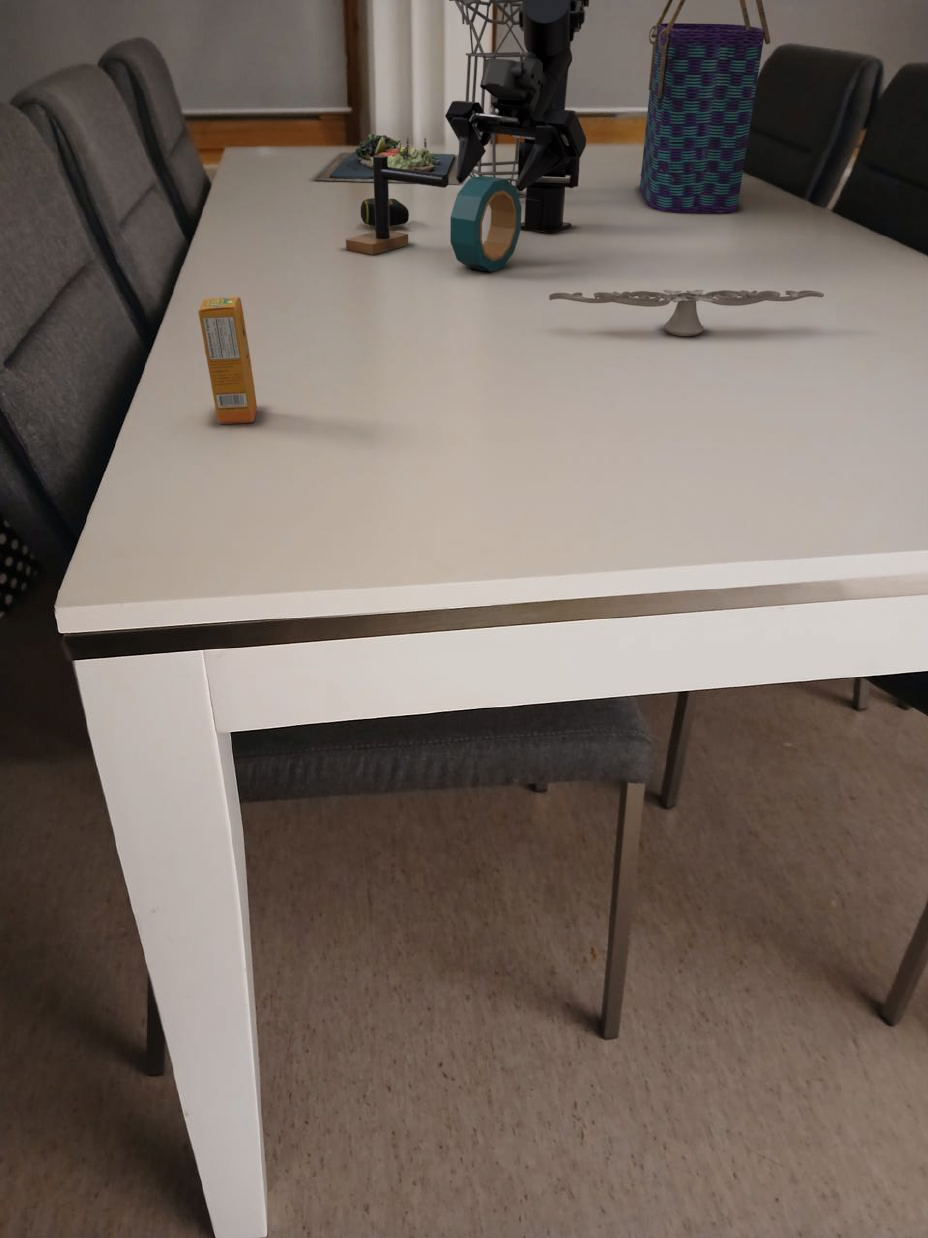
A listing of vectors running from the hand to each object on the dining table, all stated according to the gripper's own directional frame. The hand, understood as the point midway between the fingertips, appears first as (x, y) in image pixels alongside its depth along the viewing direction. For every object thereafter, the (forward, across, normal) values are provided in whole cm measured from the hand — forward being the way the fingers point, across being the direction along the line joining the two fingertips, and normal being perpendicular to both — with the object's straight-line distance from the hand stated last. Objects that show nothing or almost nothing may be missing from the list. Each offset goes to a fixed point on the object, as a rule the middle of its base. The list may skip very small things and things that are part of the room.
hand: (488, 184), depth 124 cm
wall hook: (+15, +33, 0) cm, 36 cm away
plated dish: (-33, -60, +47) cm, 83 cm away
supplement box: (+48, +12, -33) cm, 59 cm away
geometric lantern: (-23, -24, +37) cm, 50 cm away
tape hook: (+7, -13, +7) cm, 16 cm away
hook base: (+7, -19, +7) cm, 21 cm away
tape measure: (-1, -27, +16) cm, 31 cm away
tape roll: (+7, 0, +7) cm, 10 cm away
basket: (-37, 0, +52) cm, 64 cm away
